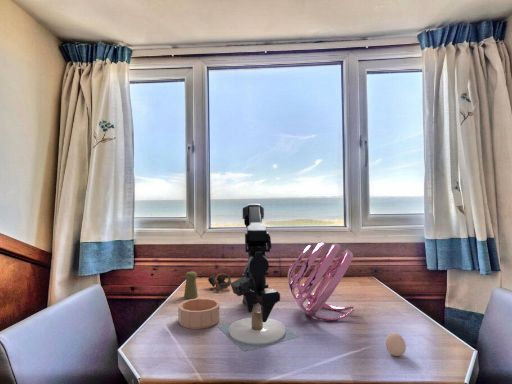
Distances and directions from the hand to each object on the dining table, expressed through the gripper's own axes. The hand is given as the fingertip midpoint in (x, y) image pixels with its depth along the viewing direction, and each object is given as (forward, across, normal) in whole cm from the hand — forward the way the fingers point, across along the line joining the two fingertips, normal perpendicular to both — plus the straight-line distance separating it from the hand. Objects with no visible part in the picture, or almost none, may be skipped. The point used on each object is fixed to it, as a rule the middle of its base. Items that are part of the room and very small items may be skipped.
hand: (257, 317), depth 99 cm
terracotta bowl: (+5, -18, -13) cm, 23 cm away
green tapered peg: (+5, -47, -7) cm, 48 cm away
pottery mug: (+5, -52, +9) cm, 53 cm away
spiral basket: (+5, -3, +29) cm, 30 cm away
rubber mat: (+5, 0, 0) cm, 5 cm away
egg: (+5, +31, +26) cm, 41 cm away
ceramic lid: (+5, 0, 0) cm, 5 cm away
